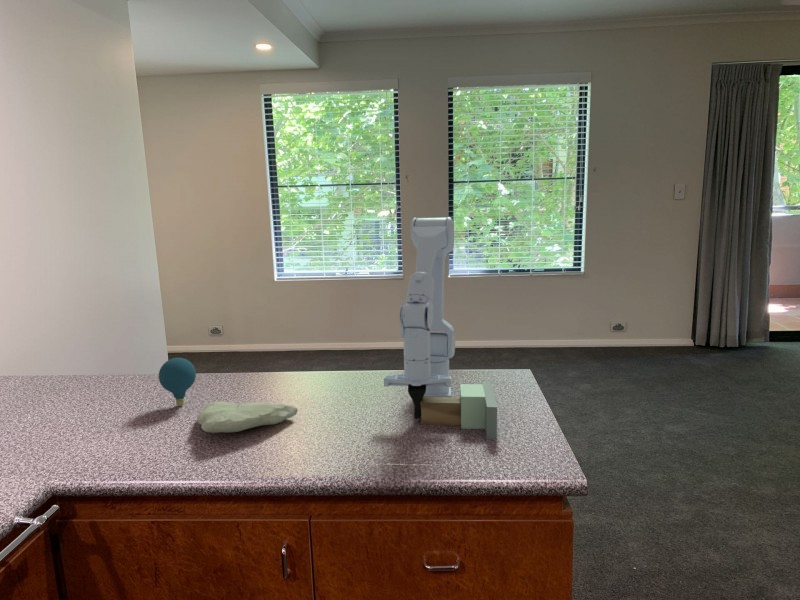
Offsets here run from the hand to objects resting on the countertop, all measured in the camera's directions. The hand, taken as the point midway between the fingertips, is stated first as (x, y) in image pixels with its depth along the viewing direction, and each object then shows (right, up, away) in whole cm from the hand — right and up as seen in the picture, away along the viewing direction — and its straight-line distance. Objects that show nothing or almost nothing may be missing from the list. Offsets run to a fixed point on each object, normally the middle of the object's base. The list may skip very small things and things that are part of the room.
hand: (417, 417), depth 118 cm
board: (+15, -1, -2) cm, 15 cm away
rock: (-40, -3, -1) cm, 40 cm away
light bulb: (-58, 0, +13) cm, 59 cm away
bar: (+7, -1, 0) cm, 7 cm away
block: (+12, -1, -1) cm, 12 cm away
